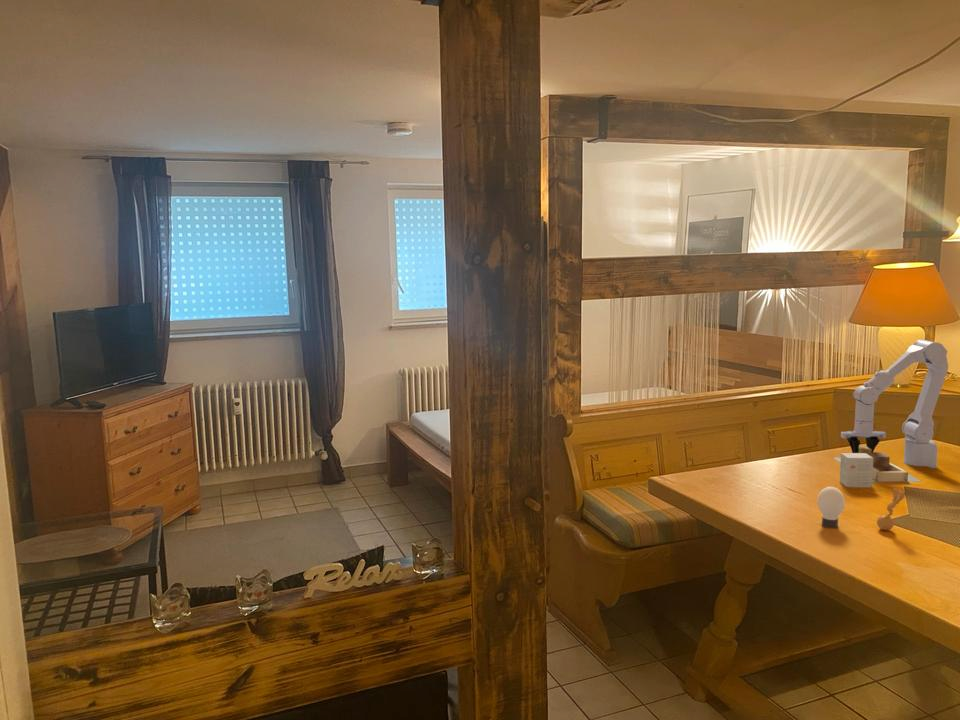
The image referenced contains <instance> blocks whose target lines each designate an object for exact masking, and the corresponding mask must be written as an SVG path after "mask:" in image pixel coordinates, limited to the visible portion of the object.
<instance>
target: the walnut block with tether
mask: <svg viewBox="0 0 960 720" xmlns="http://www.w3.org/2000/svg"><path fill="white" fill-rule="evenodd" d="M858 453H866V454H868V455H869V456H871V457H873V467H874V468H875V469H877V470H879V471H889V463H890V458H891V457H890V456H889V455H888V454H886V453H885V452H882V451H879V452H878V451H873V452H872V449H870V448H869V447H867V446H866V445H859V449H858Z"/></svg>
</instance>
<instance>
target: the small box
mask: <svg viewBox="0 0 960 720" xmlns="http://www.w3.org/2000/svg"><path fill="white" fill-rule="evenodd" d="M840 458H841V463H840V462H839V463H840V464H839V465H840V466H839V482H840V484H842V485H843V486H844V487H846V488H873V482H872V476H873V457H871V456H869V455H868V454H866V453H852V452H846V453H845V452H844V453H843V452H841V453H840Z"/></svg>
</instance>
